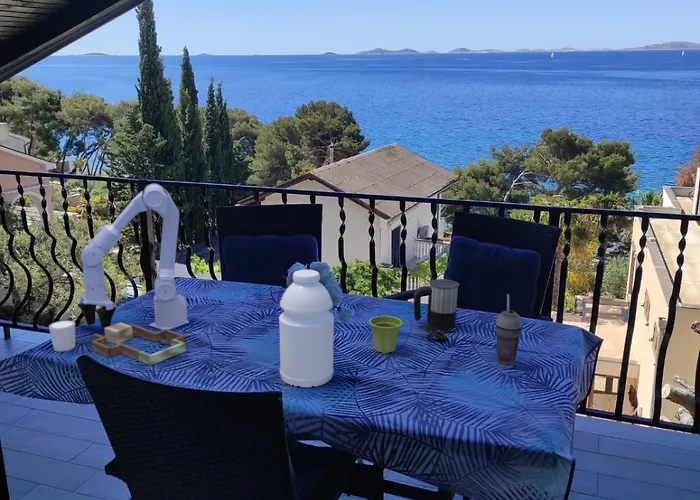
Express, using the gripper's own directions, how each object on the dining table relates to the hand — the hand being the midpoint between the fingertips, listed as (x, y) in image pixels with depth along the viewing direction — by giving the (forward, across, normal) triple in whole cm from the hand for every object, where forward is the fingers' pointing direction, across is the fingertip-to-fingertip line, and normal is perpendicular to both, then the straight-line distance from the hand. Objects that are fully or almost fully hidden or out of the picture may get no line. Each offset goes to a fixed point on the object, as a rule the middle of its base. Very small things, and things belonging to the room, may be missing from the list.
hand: (98, 327), depth 190 cm
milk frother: (+2, +83, +63) cm, 104 cm away
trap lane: (+1, +19, 0) cm, 19 cm away
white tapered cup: (+2, +3, -13) cm, 13 cm away
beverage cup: (+2, +109, +52) cm, 121 cm away
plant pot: (+2, +77, +41) cm, 87 cm away
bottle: (+2, +70, +14) cm, 72 cm away
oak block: (+2, +10, 0) cm, 10 cm away
